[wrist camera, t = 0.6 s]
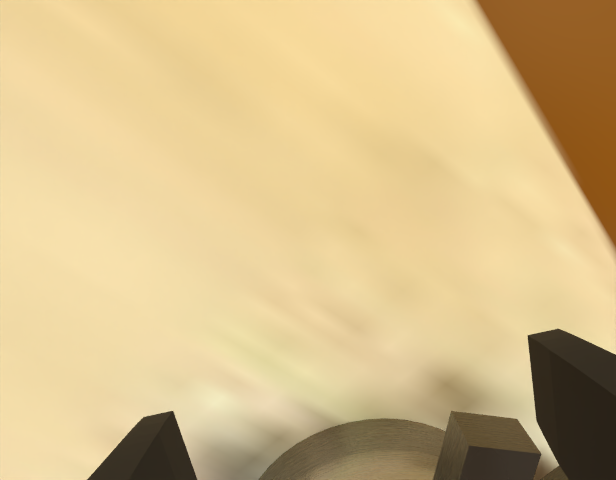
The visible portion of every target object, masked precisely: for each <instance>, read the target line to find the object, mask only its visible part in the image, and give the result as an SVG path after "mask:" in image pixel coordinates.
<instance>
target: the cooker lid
mask: <svg viewBox="0 0 616 480" xmlns="http://www.w3.org/2000/svg"><path fill="white" fill-rule="evenodd" d="M540 456H541V453H540V451H539V450H538V448H537V447H536V446H535V444H534V443H533V441H532V440H531V438H530V437H529V436H528V434H527V433H526V431H525V430H524V428H523V427H522V425H521V424H520V423H519V421H518V420H517V419H512V418H504V417H496V416H488V415H479V414H471V413H463V412H454V411H451V414H450V418H449V422H448V425H447V429H446V433H445V436H444V440H443V444H442V447H441V451H440V455H439V458H438V462H437V466H436V469H435V473H434V477H433V480H533V478H534V475H535V471H536V468H537V465H538V462H539V459H540Z"/></svg>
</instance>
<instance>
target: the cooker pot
mask: <svg viewBox="0 0 616 480" xmlns="http://www.w3.org/2000/svg"><path fill="white" fill-rule="evenodd" d="M445 433H446V432H445V431H443V430H441V429H439V428H435V427H432V426H429V425H426V424H423V423H418V422H413V421H408V420H398V419H369V420H362V421H356V422H349V423H346V424H342V425H338V426H335V427H331V428H329V429H326V430H324V431H321V432H319V433H316V434H314V435H312V436H310V437H308V438H307V439H305V440H303V441H301V442H299V443H298V444H296V445H295V446H293V447H292V448H290V449H289V450H288V451H286V452H285V453H284V454H282V455H281V456H280V457H279V458H278V459H277V460H276V461H275V462H274V463H273V464H271V465H270V466H269V468H268V469H267V470H266V471H265V472H264V474H263V475H262V476H261V477H260V478H259V480H433V477H434V473H435V469H436V466H437V462H438V458H439V455H440V451H441V447H442V444H443V440H444V436H445ZM541 480H569V479H568V478H567V476H566V475H565V473H564V472H563V470H562V469H561V467H560V466H558V467H557V468H556V469H554V470H553V471H552V472H550V473H549V474H547V475H546V476H545V477H543V478H542V479H541Z"/></svg>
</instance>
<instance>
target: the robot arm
mask: <svg viewBox="0 0 616 480" xmlns="http://www.w3.org/2000/svg"><path fill="white" fill-rule="evenodd" d="M528 343H529V353H530V362H531V372H532V381H533V391H534V400H535V410H536V419H537V423H538V425H539V427H540V429H541V431H542V433H543V435H544V437H545V439H546V441H547V443H548V445H549V447H550V448H551V450H552V452H553V454H554V456H555V458H556V460H557V462H558V464H559V465H560V467H561V469H562V470H563V472H564V473H565V475H566V476H567V478H568V479H569V480H616V355H615V354H613V353H611V352H609V351H606V350H604V349H602V348H600V347H598V346H596V345H594V344H592V343H589V342H587V341H585V340H583V339H581V338H579V337H577V336H574V335H572V334H570V333H568V332H565V331H563V330H560V329H555V330H551V331H546V332H541V333H537V334H532V335H528ZM87 480H197V478H196V475H195V472H194V469H193V466H192V464H191V461H190V458H189V455H188V452H187V449H186V446H185V444H184V441H183V438H182V435H181V432H180V429H179V427H178V424H177V421H176V418H175V415H174V412H173V411H170V412H166V413H161V414H156V415H151V416H147V417H143V418H142V419H141V420H140V421H139V422H138V423H137V424H136V425H135V427H134V428H133V429H132V430H131V431H130V432H129V433H128V434H127V435H126V437H125V438H124V439H123V440H122V441H121V442H120V443H119V444H118V446H117V447H116V448H115V449H114V450H113V451H112V452H111V454H110V455H109V456H108V457H107V458H106V459H105V460H104V462H103V463H102V464H101V465H100V466H99V467H98V468H97V469H96V470H95V472H94V473H93V474H92V475H91V476H90V477H89V478H88V479H87Z"/></svg>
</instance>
